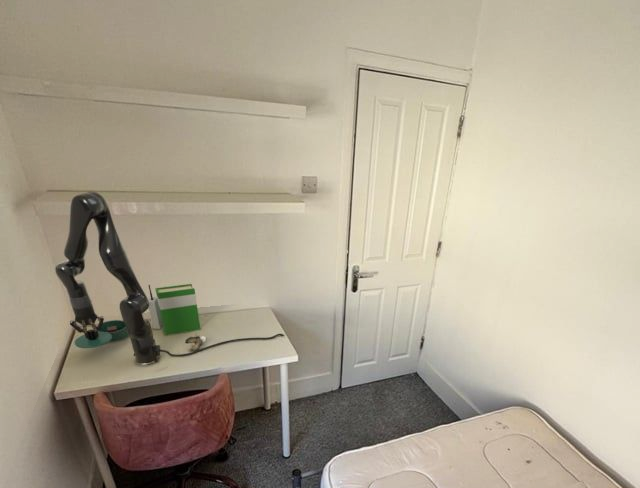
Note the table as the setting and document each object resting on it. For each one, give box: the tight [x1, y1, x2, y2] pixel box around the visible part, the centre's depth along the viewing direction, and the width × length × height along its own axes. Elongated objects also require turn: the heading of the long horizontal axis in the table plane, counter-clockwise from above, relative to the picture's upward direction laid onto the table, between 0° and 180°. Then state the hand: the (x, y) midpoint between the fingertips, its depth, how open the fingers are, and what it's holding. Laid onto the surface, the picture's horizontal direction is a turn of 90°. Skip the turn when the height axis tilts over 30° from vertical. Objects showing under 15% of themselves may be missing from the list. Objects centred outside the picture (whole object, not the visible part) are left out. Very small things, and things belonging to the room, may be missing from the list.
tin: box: [98, 319, 130, 343], centre depth 200 cm, size 14×14×6 cm
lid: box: [74, 329, 112, 349], centre depth 180 cm, size 15×15×6 cm
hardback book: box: [154, 283, 201, 336], centre depth 207 cm, size 18×7×24 cm, turn 122°
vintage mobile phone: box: [148, 284, 163, 330], centre depth 206 cm, size 4×5×25 cm
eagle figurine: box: [184, 333, 207, 352], centre depth 197 cm, size 8×7×9 cm
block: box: [107, 326, 118, 333], centre depth 200 cm, size 4×4×4 cm
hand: (93, 338), depth 181 cm, fingers closed on lid, 2 cm apart
